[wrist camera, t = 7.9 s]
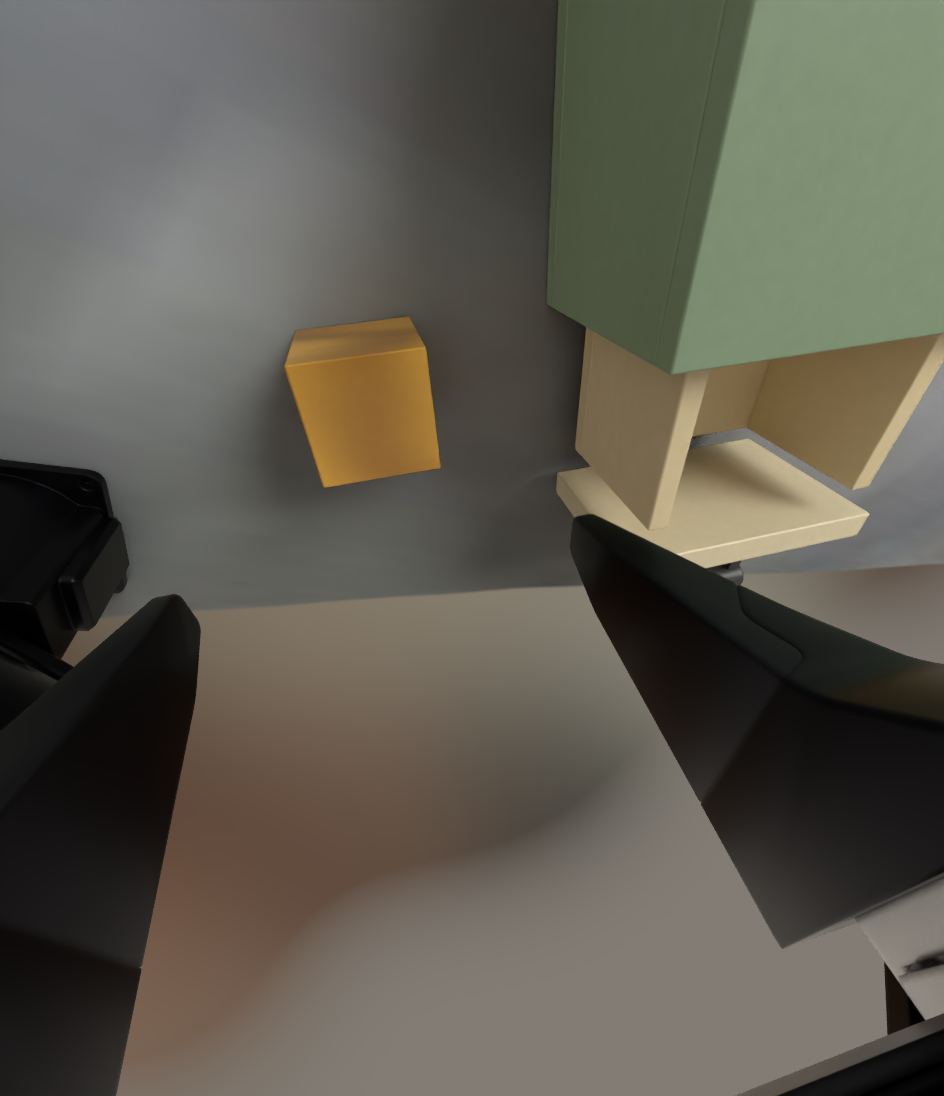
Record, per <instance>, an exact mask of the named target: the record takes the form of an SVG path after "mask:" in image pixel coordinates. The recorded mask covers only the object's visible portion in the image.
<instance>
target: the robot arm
mask: <svg viewBox="0 0 944 1096" xmlns="http://www.w3.org/2000/svg"><path fill="white" fill-rule="evenodd" d="M84 480H88V481H91V482H92V483H93V484H94V485H95V486H91V485H88V484H87V483H85V481H84ZM570 550H571V554H572V557H573V560H574V562H575V565H576V567H577V569H578V572H579V574H580V577H581V579H582V582H583V584H584V587H585V589H586V591H587V594H588V596H589V599H590V602H591V604H592V606H593V608H594V611H595V613H596V615H597V617H598V618H599V620H600V622H601V624H602V626H603V628H604V629H605V631H606V633H607V635H608V637H609V638H610V640H611V642H612V644H613V646H614V648H615V649H616V651H617V653H618V655H619V656H620V658H621V660H622V662H623V664H624V665H625V667H626V669H627V671H628V673H629V675H630V676H631V678H632V680H633V682H634V684H635V685H636V687H637V689H638V691H639V693H640V695H641V696H642V698H643V700H644V702H645V704H646V705H647V707H648V709H649V711H650V713H651V714H652V716H653V718H654V720H655V721H656V724H657V725H658V727H659V729H660V731H661V733H662V734H663V736H664V738H665V740H666V741H667V743H668V745H669V747H670V749H671V751H672V752H673V754H674V756H675V758H676V760H677V761H678V763H679V765H680V767H681V769H682V771H683V772H684V774H685V776H686V778H687V780H688V781H689V783H690V785H691V787H692V789H693V791H694V792H695V794H696V796H697V798H698V800H699V801H700V802H701V806H702V807H703V809H704V811H705V813H706V815H707V816H708V818H709V820H710V822H711V824H712V825H713V827H714V829H715V831H716V832H717V834H718V836H719V838H720V840H721V842H722V844H723V845H724V847H725V849H726V851H727V853H728V854H729V856H730V858H731V860H732V862H733V863H734V865H735V867H736V869H737V871H738V872H739V874H740V876H741V878H742V880H743V882H744V883H745V885H746V887H747V889H748V891H749V892H750V894H751V896H752V898H753V900H754V901H755V903H756V905H757V907H758V909H759V910H760V912H761V914H762V916H763V918H764V919H765V921H766V923H767V925H768V927H769V928H770V930H771V932H772V934H773V936H774V937H775V939H776V940H777V942H778V944H779V945H780V947H781V948H782V949H784V948H787V947H790V946H792V945H795V944H798V943H801V942H804V941H807V940H810V939H813V938H815V937H818V936H821V935H824V934H827V933H830V932H833V931H835V930H838V929H841V928H844V927H847V926H849V925H852V924H855V923H858V924H859V926H860V927H861V929H862V930H863V932H864V933H865V934H866V936H867V937H868V939H869V940H870V941H871V943H872V944H873V946H874V947H875V949H876V950H877V952H878V953H879V954H880V956H881V957H882V959H883V960H884V967H885V987H886V988H885V989H886V1011H887V1033H888V1035H887V1036H885V1037H882V1038H880V1039H877V1040H875V1041H872V1042H870V1043H867V1044H864V1045H862V1046H860V1047H857V1048H855V1049H852V1050H849V1051H847V1052H844V1053H842V1054H839V1055H837V1056H834V1057H832V1058H829V1059H827V1060H824V1061H822V1062H819V1063H817V1064H814V1065H811V1066H809V1067H806V1068H804V1069H801V1070H799V1071H796V1072H794V1073H791V1074H789V1075H786V1076H783V1077H781V1078H778V1079H776V1080H773V1081H771V1082H768V1083H766V1084H763V1085H761V1086H758V1087H756V1088H753V1089H751V1090H748V1091H746V1092H743V1093H741V1094H738V1095H735V1096H944V664H940V663H934V662H929V661H925V660H920V659H917V658H913V657H910V656H906V655H903V654H900V653H898V652H895V651H893V650H890V649H888V648H885V647H883V646H880V645H878V644H875V643H873V642H870V641H868V640H865V639H863V638H861V637H858V636H856V635H853V634H851V633H848V632H846V631H843V630H841V629H839V628H836V627H834V626H831V625H829V624H826V623H824V622H821V621H819V620H817V619H814V618H812V617H809V616H807V615H805V614H802V613H800V612H798V611H795V610H793V609H791V608H788V607H786V606H784V605H782V604H779V603H777V602H775V601H773V600H771V599H768V598H766V597H764V596H762V595H760V594H758V593H756V592H754V591H752V590H749V589H747V588H745V587H743V586H741V585H737V586H736V583H735V582H733V581H731V580H729V579H727V578H725V577H723V576H720V575H718V574H716V573H714V572H712V571H710V570H708V569H706V568H704V567H702V566H700V565H698V564H696V563H694V562H692V561H690V560H688V559H685V558H683V557H681V556H679V555H677V554H675V553H673V552H671V551H669V550H667V549H665V548H663V547H661V546H659V545H657V544H655V543H653V542H650V541H648V540H646V539H644V538H642V537H640V536H638V535H636V534H634V533H632V532H630V531H628V530H626V529H624V528H622V527H620V526H618V525H615V524H613V523H611V522H609V521H607V520H605V519H603V518H601V517H599V516H597V515H595V514H585V515H580V516H576V517H575V518H574V519H573V523H572V532H571V542H570ZM128 566H129V560H128V555H127V550H126V545H125V540H124V536H123V531H122V526H121V523H120V522H119V521H118V520H117V519H116V518H114V516H113V512H112V507H111V503H110V498H109V493H108V489H107V484H106V481H105V479H104V477H103V476H102V475H101V474H99V473H97V472H95V471H92V470H87V469H78V468H70V467H61V466H52V465H44V464H35V463H26V462H18V461H9V460H0V1096H116V1093H117V1088H118V1083H119V1079H120V1074H121V1069H122V1064H123V1059H124V1054H125V1049H126V1043H127V1039H128V1034H129V1029H130V1024H131V1019H132V1014H133V1010H134V1004H135V1000H136V995H137V990H138V984H139V980H140V975H141V968H140V967H141V966H142V963H143V958H144V953H145V948H146V943H147V938H148V933H149V928H150V923H151V918H152V913H153V908H154V903H155V899H156V893H157V888H158V884H159V878H160V874H161V869H162V864H163V859H164V854H165V849H166V844H167V839H168V834H169V829H170V824H171V819H172V814H173V809H174V804H175V799H176V794H177V790H178V784H179V779H180V774H181V770H182V765H183V760H184V755H185V750H186V744H187V740H188V735H189V730H190V725H191V720H192V715H193V710H194V704H195V698H196V688H197V674H198V660H199V646H200V633H201V630H200V625H199V622H198V620H197V618H196V617H195V616H194V614H193V613H192V611H191V610H190V608H189V607H188V606H187V604H186V603H185V601H184V600H183V599H182V597H180V596H179V595H176V594H171V595H166V596H161V597H157V598H154V599H152V600H151V601H150V602H148V603H147V604H146V605H145V606H144V607H143V608H142V609H140V610H139V611H138V612H137V613H136V614H135V615H133V616H132V617H131V618H130V619H129V620H128V621H127V622H125V623H124V624H123V625H122V626H121V627H120V628H119V629H117V630H116V631H115V632H114V633H113V634H112V635H110V636H109V637H108V638H107V639H106V640H105V641H103V642H102V643H101V644H100V645H99V646H98V647H97V648H96V649H94V650H93V651H92V652H91V653H90V654H88V655H87V656H86V657H85V658H84V659H83V660H82V661H80V662H79V663H78V664H77V665H76V666H75V667H73V666H72V665H70V664H68V663H66V662H65V661H63V660H61V658H62V657H63V655H64V653H65V651H66V650H67V648H68V646H69V645H70V643H71V641H72V640H73V638H74V636H75V634H76V633H77V631H89V630H90V629H91V628H93V627H94V626H95V625H96V624H97V622H98V620H99V618H100V617H101V615H102V613H103V611H104V609H105V608H106V606H107V604H108V602H109V600H110V599H111V597H112V595H113V593H118V592H121V591H122V590H123V589H124V588H125V586H126V584H127V577H126V570H127V568H128Z"/></svg>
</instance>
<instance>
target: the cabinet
mask: <svg viewBox="0 0 944 1096" xmlns="http://www.w3.org/2000/svg"><path fill="white" fill-rule="evenodd" d="M546 304H547V305H549V306H550V307H552V308H554V309H556V310H557V311H559V312H561V313H563V314H564V315H566V316H568V317H570V318H571V319H573V320H575V321H577V322H578V323H580V324H582V325H583V326H585V327H587V328H589V329H590V330H592V331H594V332H596V333H597V334H599V335H601V336H603V337H604V338H606V339H608V340H610V341H611V342H613V343H615V344H617V345H618V346H620V347H622V348H624V349H625V350H627V351H629V352H631V353H632V354H634V355H636V356H637V357H639V358H641V359H643V360H644V361H646V362H648V363H650V364H651V365H653V366H656V367H657V368H659V369H661V370H662V371H664V372H666V373H668V374H670V375H675V374H682V373H688V372H695V371H701V370H708V369H714V368H721V367H727V366H734V365H740V364H747V363H753V362H760V361H766V360H773V359H779V358H786V357H792V356H799V355H805V354H812V353H819V352H825V351H832V350H838V349H845V348H851V347H858V346H864V345H871V344H877V343H884V342H890V341H897V340H903V339H910V338H916V337H923V336H929V335H936V334H942V333H944V0H558V22H557V47H556V72H555V97H554V122H553V148H552V173H551V198H550V223H549V248H548V273H547V298H546Z"/></svg>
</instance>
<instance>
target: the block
mask: <svg viewBox="0 0 944 1096" xmlns="http://www.w3.org/2000/svg"><path fill="white" fill-rule="evenodd" d="M284 368H285V372H286V375H287V378H288V381H289V384H290V387H291V390H292V393H293V396H294V399H295V402H296V405H297V408H298V411H299V414H300V417H301V421H302V424H303V427H304V430H305V433H306V436H307V439H308V442H309V445H310V448H311V451H312V454H313V457H314V460H315V463H316V466H317V470H318V473H319V476H320V479H321V482H322V485H323V487H324V488H328V487H333V486H339V485H345V484H351V483H357V482H363V481H369V480H374V479H380V478H386V477H392V476H398V475H404V474H410V473H415V472H421V471H427V470H433V469H439V468H440V467H441V465H440V456H439V448H438V440H437V432H436V424H435V416H434V408H433V399H432V391H431V383H430V375H429V367H428V359H427V351H426V347H425V345H424V343H423V342H422V340H421V338H420V336H419V334H418V332H417V330H416V328H415V326H414V325H413V323H412V321H411V319H410V317H401V318H393V319H385V320H376V321H368V322H360V323H352V324H344V325H336V326H328V327H320V328H312V329H304V330H296V331H295V333H294V336H293V340H292V343H291V346H290V349H289V353H288V356H287V359H286V362H285V365H284Z"/></svg>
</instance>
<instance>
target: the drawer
mask: <svg viewBox="0 0 944 1096" xmlns="http://www.w3.org/2000/svg"><path fill="white" fill-rule="evenodd" d="M943 361H944V333H942V334H936V335H929V336H923V337H916V338H910V339H903V340H897V341H890V342H884V343H877V344H871V345H864V346H858V347H851V348H845V349H838V350H832V351H825V352H819V353H812V354H805V355H799V356H792V357H786V358H779V359H773V360H766V361H760V362H753V363H747V364H740V365H734V366H727V367H721V368H714V369H708V370H701V371H695V372H688V373H682V374H675V375H670V374H668V373H666V372H664V371H662V370H661V369H659V368H657V367H656V366H653V365H651V364H650V363H648V362H646V361H644V360H643V359H641V358H639V357H637V356H636V355H634V354H632V353H631V352H629V351H627V350H625V349H624V348H622V347H620V346H618V345H617V344H615V343H613V342H611V341H610V340H608V339H606V338H604V337H603V336H601V335H599V334H597V333H596V332H594V331H592V330H590V329H589V328H587V327H586V337H585V347H584V358H583V368H582V379H581V390H580V400H579V411H578V421H577V432H576V442H575V449H576V451H577V452H578V453H579V454H580V455H581V456H582V457H583V458H584V459H585V460H586V462H587V463H588V464H589V465H590V466H591V467H586V468H581V469H575V470H570V471H564V472H559V473H558V474H557V486H556V492H557V494H558V495H559V497H560V498H561V499H562V501H563V502H564V504H565V505H566V507H567V508H568V509H569V511H570V512H571V514H572V515H573V516H574V518H575V517H576V516H580V515H585V514H595V515H597V516H599V517H601V518H603V519H605V520H607V521H609V522H611V523H613V524H615V525H618V526H620V527H622V528H624V529H626V530H628V531H630V532H632V533H634V534H636V535H638V536H640V537H642V538H644V539H646V540H648V541H650V542H653V543H655V544H657V545H659V546H661V547H663V548H665V549H667V550H669V551H671V552H673V553H675V554H677V555H679V556H681V557H683V558H685V559H688V560H690V561H692V562H694V563H696V564H698V565H700V566H702V567H704V568H706V569H708V570H710V571H712V572H714V573H716V574H718V575H720V576H723V577H725V578H727V579H729V580H731V581H733V582H735V583H736V586H737V585H740V584H741V583H742V582H743V571H742V569H741V567H740V566H739V565H740V563H741V560H746V559H750V558H755V557H759V556H764V555H768V554H773V553H778V552H782V551H787V550H791V549H796V548H800V547H805V546H810V545H814V544H819V543H823V542H828V541H832V540H837V539H842V538H846V537H851V536H855V535H856V534H857V533H858V532H859V530H860V529H861V527H862V525H863V524H864V522H865V521H866V519H867V517H868V516H869V513H868V512H866V511H865V510H863V509H861V508H860V507H858V506H857V505H855V504H853V503H852V502H850V501H848V500H847V499H845V498H844V497H842V496H840V495H839V494H837V493H836V492H834V491H832V490H831V489H829V488H827V487H826V486H824V485H823V484H821V483H819V482H818V481H816V480H815V479H813V478H811V477H810V476H808V475H806V474H805V473H803V472H802V471H800V470H798V469H797V468H795V467H794V466H792V465H790V464H789V463H787V462H785V461H784V460H782V459H781V458H779V457H777V456H776V455H774V454H773V453H771V452H769V451H768V450H766V449H764V448H763V447H761V446H760V445H758V444H756V443H755V442H753V441H752V440H750V439H743V440H738V441H732V442H726V443H721V444H715V445H710V446H704V447H698V448H693V449H689V445H690V442H691V438H692V437H693V436H699V435H705V434H710V433H716V432H722V431H728V430H733V429H739V428H745V427H747V428H748V429H750V430H752V431H753V432H755V433H757V434H758V435H760V436H762V437H763V438H765V439H767V440H768V441H770V442H772V443H773V444H775V445H777V446H778V447H780V448H782V449H784V450H785V451H787V452H789V453H790V454H792V455H794V456H795V457H797V458H799V459H800V460H802V461H804V462H805V463H807V464H809V465H810V466H812V467H814V468H815V469H817V470H819V471H821V472H822V473H824V474H826V475H827V476H829V477H831V478H832V479H834V480H836V481H837V482H839V483H841V484H842V485H844V486H846V487H847V488H849V489H851V490H854V489H859V488H864V487H868V486H869V484H870V483H871V481H872V479H873V478H874V476H875V474H876V473H877V471H878V469H879V468H880V466H881V464H882V463H883V461H884V459H885V458H886V456H887V454H888V453H889V451H890V449H891V448H892V446H893V444H894V443H895V441H896V439H897V438H898V436H899V434H900V433H901V431H902V429H903V428H904V426H905V424H906V422H907V421H908V419H909V417H910V416H911V414H912V412H913V411H914V409H915V407H916V406H917V404H918V402H919V401H920V399H921V397H922V396H923V394H924V392H925V391H926V389H927V387H928V386H929V384H930V382H931V381H932V379H933V377H934V376H935V374H936V372H937V371H938V369H939V367H940V366H941V364H942V362H943Z"/></svg>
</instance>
